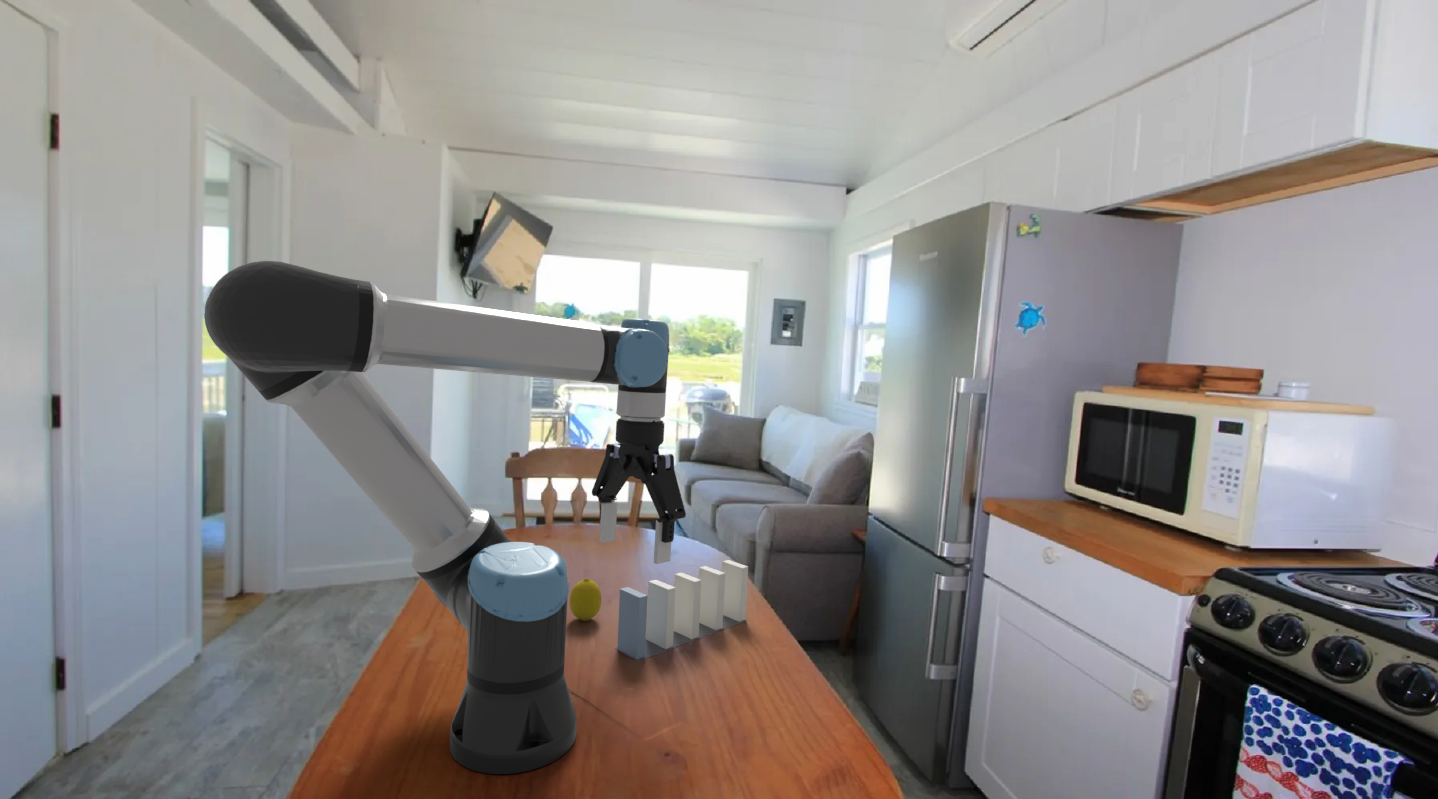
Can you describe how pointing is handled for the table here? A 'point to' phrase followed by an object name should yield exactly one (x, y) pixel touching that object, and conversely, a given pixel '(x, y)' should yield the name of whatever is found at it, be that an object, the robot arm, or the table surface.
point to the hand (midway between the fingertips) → (633, 551)
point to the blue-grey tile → (632, 622)
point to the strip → (684, 638)
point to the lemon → (585, 599)
